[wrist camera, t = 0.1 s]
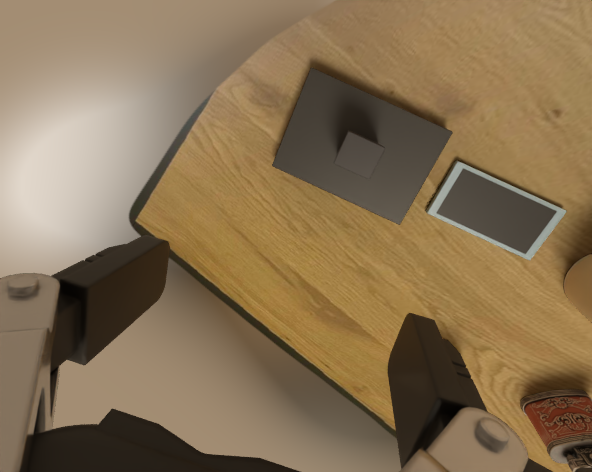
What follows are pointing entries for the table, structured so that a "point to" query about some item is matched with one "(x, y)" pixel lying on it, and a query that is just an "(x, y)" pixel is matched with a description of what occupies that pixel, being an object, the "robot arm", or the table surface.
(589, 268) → the coffee cup
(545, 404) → the lighter
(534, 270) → the table surface
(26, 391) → the robot arm
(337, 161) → the cover
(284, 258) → the table surface
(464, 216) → the phone
